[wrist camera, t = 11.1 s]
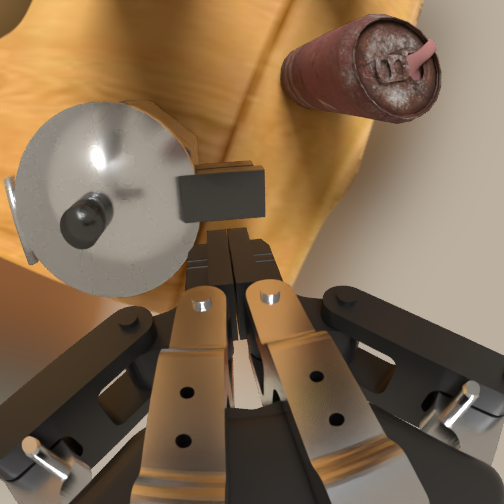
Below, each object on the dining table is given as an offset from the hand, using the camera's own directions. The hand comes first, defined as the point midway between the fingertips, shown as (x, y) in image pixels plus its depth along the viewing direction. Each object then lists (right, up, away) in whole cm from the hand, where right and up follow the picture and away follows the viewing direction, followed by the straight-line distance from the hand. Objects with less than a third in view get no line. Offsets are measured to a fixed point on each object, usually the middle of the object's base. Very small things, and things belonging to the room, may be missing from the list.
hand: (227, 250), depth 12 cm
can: (+6, +16, +11) cm, 20 cm away
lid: (-8, +3, +6) cm, 10 cm away
